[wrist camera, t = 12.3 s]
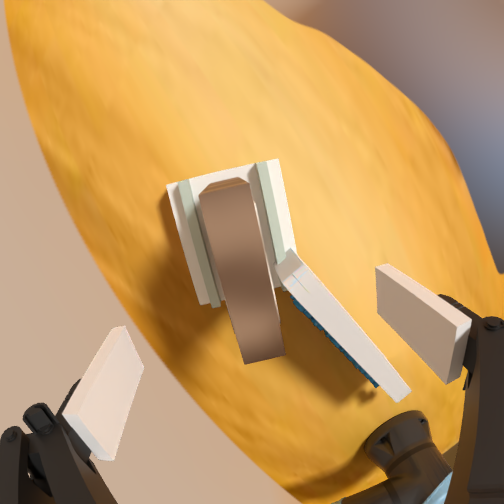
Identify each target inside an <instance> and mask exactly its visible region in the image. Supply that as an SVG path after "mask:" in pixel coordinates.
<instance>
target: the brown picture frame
mask: <svg viewBox="0 0 504 504" xmlns="http://www.w3.org/2000/svg"><path fill="white" fill-rule="evenodd" d="M198 196H199V200H200V204H201V209H202V213H203V219H204V223H205V227H206V231H207V235H208V239H209V243H210V246H211V250H212V254H213V258H214V261H215V265H216V269H217V273H218V276H219V280H220V284H221V287H222V291H223V294H224V298H225V301H226V305H227V308H228V312H229V315H230V319H231V322H232V326H233V329H234V333H235V334H236V338H237V341H238V344H239V348H240V351H241V354H242V358H243V361H244V364H250V363H254V362H259V361H263V360H267V359H271V358H275V357H280V356H284V355H286V353H285V348H284V343H283V338H282V334H281V329H280V323H281V322H280V317H279V312H278V307H277V302H276V297H275V292H274V287H273V283H272V278H271V273H270V268H269V264H268V259H267V254H266V249H265V245H264V240H263V235H262V231H261V226H260V221H259V217H258V212H257V208H256V203H255V202H254V201H253V197H252V193H251V188H250V183H248V182H247V181H245V180H243V179H241V178H239V177H235V178H230V179H226V180H222V181H218V182H214V183H210V184H209V185H208V186H207V187H206V188H205V189H204V190H203V191H202V192H201V193H200V194H199V195H198Z"/></svg>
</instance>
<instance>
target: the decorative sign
mask: <svg viewBox="0 0 504 504" xmlns="http://www.w3.org/2000/svg"><path fill="white" fill-rule="evenodd" d="M285 255H286V258H285V259H284V260H283V261H282V262H281V263H280V264H279V265H278V264H277V262H276V261H275V262H274V263H273V266H274V268H275V270H276V272H277V274H278V276H279V278H280V280H281V282H282V283H283V285H284V286H285V287H286V288H287V290H288V291H289V292H290V293H291V294H292V295H291V296H290V297H291V299H293V300H294V301H293V303H294V305H295V306H296V307H297V308H298V309H299V310H300V311H301V312H303V313H304V314H305V315H306V316H307V317H308V318H310V319H311V321H312V322H313V325H314V326H316V327H317V328H318V329H319V330H320V331H321V330H324V332H325V335H326V337H328V338H329V339H330V341H331V342H332V343H333V344H334V345H335V346H336V347H337V348H339V350H340V351H341V352H343V354H344V355H345V356H346V357H347V358H348V359H349V360H350V361H352V363H353V364H354V366H355V368H356V369H357V368H358V369H359V370H360V372H361V373H362V374H364V376H365V377H366V378H367V379H369V381H370V382H371V383H372V384H373V385H374V387H375V388H377V387H378V386H379V385H380V386H381V387H382V388H383V389H384V390H385V392H386V393H387V394H388V395H389V396H390V397H391V398H392V399H393V400H394V401H395V402H396V403H398V402H400V401H401V400H402V399H403V398H405V396H407V395H408V394H409V393H410V392H411V389H410V388H409V387H408V385H407V384H406V383H405V382H404V380H403V379H402V378H401V376H400V375H399V374H398V372H397V371H396V370H395V369H394V367H393V366H392V365H391V363H390V362H389V361H388V360H387V358H386V357H385V356H384V355H383V353H382V352H381V351H380V350H379V349H378V347H377V346H376V345H375V344H374V343H373V341H372V340H371V339H370V338H369V337H368V335H367V334H366V333H365V332H364V331H363V329H362V328H361V327H360V326H359V325H358V324H357V322H356V321H355V320H354V319H353V318H352V317H351V315H350V314H349V313H348V312H347V311H346V310H345V308H344V307H343V306H342V305H341V304H340V303H339V301H338V300H337V299H336V298H335V297H334V296H333V294H332V293H331V292H330V291H329V290H328V289H327V288H326V286H325V285H324V284H323V283H322V282H321V281H320V280H319V278H318V277H317V276H316V275H315V274H314V273H313V272H312V270H311V269H310V268H309V267H308V266H307V265H306V264H305V263H304V261H303V260H302V259H301V258H300V257H299V256H298V255H297V254H296V253H295V252H294V251H293V250H292V249H291V248H289V249H288V250H287V251H286V252H285Z"/></svg>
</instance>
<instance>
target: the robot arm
mask: <svg viewBox="0 0 504 504" xmlns="http://www.w3.org/2000/svg"><path fill="white" fill-rule="evenodd" d="M375 272H376V289H377V313H378V314H379V315H380V316H381V317H382V318H383V319H384V320H385V321H386V322H387V323H388V324H389V325H390V326H391V327H392V328H393V329H394V330H395V331H396V332H397V333H398V335H399V336H400V337H401V338H402V339H403V340H404V341H405V342H406V343H407V344H408V345H409V346H410V347H411V348H412V349H413V350H414V351H415V352H416V353H417V354H418V355H419V356H420V357H421V358H422V360H423V361H424V362H425V363H426V364H427V365H428V366H429V367H430V368H431V369H432V370H433V371H434V372H435V373H436V374H437V376H438V377H439V378H440V379H441V380H442V381H443V382H444V383H445V384H448V383H450V382H452V381H454V380H455V379H457V378H459V377H460V375H461V371H462V367H463V366H464V367H465V368H466V369H467V370H468V373H467V377H466V380H465V384H464V387H463V390H465V389H466V390H465V401H464V411H463V419H462V426H461V432H460V438H459V444H458V450H457V455H456V459H455V464H454V468H453V471H452V469H451V468H450V466H449V465H448V463H447V462H446V461H445V459H444V457H443V456H442V455H441V453H440V452H439V450H438V449H437V447H436V446H435V444H434V443H433V441H432V436H431V432H430V427H429V423H428V420H427V418H426V417H425V415H424V414H423V413H422V412H421V411H408V412H405V413H402V414H400V415H398V416H396V417H394V418H392V419H390V420H389V421H387V422H385V423H384V424H383V425H381V426H380V427H379V428H378V429H377V430H375V431H374V432H373V433H372V434H371V436H370V437H369V438H368V440H367V441H366V444H365V452H366V454H367V456H368V458H369V459H370V460H371V461H372V462H374V463H375V464H376V465H377V466H378V467H379V468H380V469H382V470H383V471H384V472H385V474H386V476H387V478H388V479H387V480H385V481H383V482H381V483H379V484H377V485H375V486H372V487H370V488H368V489H366V490H363V491H361V492H359V493H356V494H354V495H351V496H349V497H344V498H342V499H341V500H339V501H336V502H334V503H331V504H504V320H502V319H501V318H498V317H493V316H490V317H485V318H483V319H482V318H481V317H480V316H478V315H477V314H475V313H474V312H472V311H471V310H469V309H468V308H466V307H464V306H463V305H462V304H460V303H458V302H457V301H456V300H454V299H453V298H451V297H449V296H446V295H442V294H439V295H436V294H434V293H433V292H431V291H430V290H428V289H427V288H425V287H424V286H422V285H421V284H419V283H418V282H416V281H415V280H413V279H411V278H410V277H408V276H407V275H405V274H404V273H402V272H401V271H399V270H397V269H396V268H394V267H393V266H391V265H389V264H388V263H387V264H384V265H380V266H377V267H375ZM143 370H144V366H143V364H142V362H141V360H140V358H139V356H138V353H137V351H136V349H135V347H134V345H133V343H132V340H131V338H130V336H129V334H128V331H127V329H126V327H125V326H119V327H114V328H112V330H111V331H110V333H109V334H108V336H107V338H106V339H105V341H104V342H103V344H102V346H101V347H100V349H99V350H98V352H97V354H96V355H95V357H94V359H93V360H92V362H91V364H90V366H89V367H88V369H87V370H86V372H85V374H84V376H83V377H82V379H79V380H78V381H77V382H76V383H75V384H74V385H73V386H72V388H71V389H70V391H69V394H68V395H67V396H66V398H65V401H63V403H62V405H61V407H60V408H59V410H58V412H57V414H56V416H54V414H53V413H52V412H51V410H50V409H49V408H48V406H47V405H46V404H45V403H37V404H34V405H32V406H31V407H29V408H28V409H27V410H26V411H25V413H24V415H23V421H24V422H25V423H26V425H27V426H28V427H29V428H30V430H31V431H32V432H33V433H31V434H25V433H24V432H23V431H22V430H21V428H20V427H17V426H12V427H10V428H8V429H7V430H5V431H4V433H3V434H2V436H1V439H0V504H118V503H117V502H116V500H115V499H114V497H113V496H112V494H111V492H110V491H109V489H108V487H107V486H106V484H105V482H104V481H103V479H102V477H101V476H100V474H99V472H98V471H97V469H96V467H95V465H94V463H93V462H92V461H91V460H90V459H89V456H90V454H91V452H92V453H93V454H94V455H95V456H96V457H97V458H98V460H107V461H114V460H115V457H116V453H117V450H118V446H119V443H120V440H121V436H122V433H123V430H124V427H125V424H126V420H127V417H128V414H129V411H130V408H131V405H132V402H133V399H134V396H135V393H136V390H137V387H138V384H139V381H140V378H141V376H142V373H143ZM28 473H29V474H30V477H29V475H28Z"/></svg>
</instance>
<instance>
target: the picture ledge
mask: <svg viewBox="0 0 504 504" xmlns="http://www.w3.org/2000/svg"><path fill="white" fill-rule="evenodd" d="M235 177H239V178H241V179H243V180H245V181H247V182H248V183H250V188H251V193H252V197H253V201H254V202H255V203H256V208H257V212H258V217H259V221H260V226H261V231H262V235H263V240H264V245H265V249H266V254H267V259H268V264H269V268H270V273H271V278H272V283H273V287H274V288H277V287H281V288H282V290H283V292H284V291H288V290H287V288H286V287H285V286H284V285H283V283H282V282H281V280H280V278H279V276H278V274H277V272H276V270H275V268H274V266H273V263H274V262H275V261H276V262H277V264H278V265H279V264H280V263H281V262H282V261H283V260H284V259H285V258H286V255H285V252H286V251H287V250H288V249H289V248H291V249H292V250H293V251H294V252H295V253H296V254H297V251H296V246H295V240H294V235H293V229H292V224H291V219H290V214H289V208H288V203H287V198H286V193H285V188H284V183H283V178H282V174H281V169H280V164H279V159H274V160H269V161H264V162H259V163H254V164H249V165H245V166H240V167H236V168H231V169H227V170H223V171H218V172H214V173H210V174H206V175H202V176H198V177H194V178H190V179H186V180H183V181H179V182H175V183H171V184H168V185H166V187H167V191H168V195H169V199H170V203H171V206H172V210H173V214H174V218H175V222H176V225H177V229H178V233H179V236H180V240H181V244H182V247H183V251H184V254H185V258H186V261H187V264H188V268H189V271H190V274H191V278H192V281H193V284H194V288H195V291H196V294H197V297H198V300H199V304H200V305H204V304H208V303H211V306H212V308H216V307H221V301H222V300H225V298H224V294H223V291H222V287H221V284H220V280H219V276H218V273H217V269H216V265H215V261H214V258H213V254H212V250H211V246H210V243H209V239H208V235H207V231H206V227H205V223H204V219H203V213H202V209H201V204H200V200H199V196H198V195H199V194H200V193H201V192H202V191H203V190H204V189H205V188H206V187H207V186H208V185H209V184H210V183H214V182H218V181H222V180H226V179H230V178H235Z"/></svg>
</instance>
